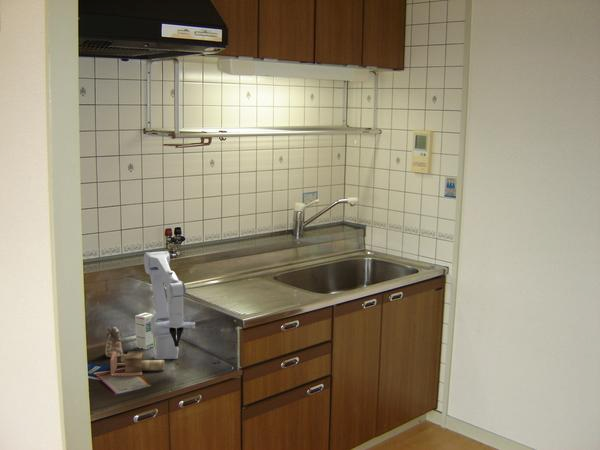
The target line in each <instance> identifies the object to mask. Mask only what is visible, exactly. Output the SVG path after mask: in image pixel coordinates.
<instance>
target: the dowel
mask: <svg viewBox="0 0 600 450" xmlns="http://www.w3.org/2000/svg"><path fill="white" fill-rule="evenodd" d="M141 362H142V372H144V371H145V372H146V371H147V372H150V371H152V372H153V371H165V369H166V368H165V364H166V363H165V359H149V360H144V359H143V360H142V361H141Z"/></svg>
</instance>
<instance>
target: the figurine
mask: <svg viewBox="0 0 600 450" xmlns="http://www.w3.org/2000/svg"><path fill="white" fill-rule="evenodd" d="M106 330H107V333H106V339H107V341H106V344H105V352H104V353H105V356H106V357H108V358H112V355H113V353H114V352H117V358H118V357H121V354H124V351H123V350H124V349H123V346H122V341H121V339H122V333H121V332H120V330H119V328H117V327H116V326H113V327H112V328H110V327H109V326H108V327H107V328H106ZM109 335H110V336H109Z"/></svg>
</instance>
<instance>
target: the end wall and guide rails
mask: <svg viewBox="0 0 600 450" xmlns="http://www.w3.org/2000/svg"><path fill="white" fill-rule="evenodd" d="M109 364H110V375H111V374H113V375H114V376H113V375H112V376H113V377H127V376H129V377H130V376H131V377H132V376H143V372H142V373H125V372H121V373H116V369H117V368H118V366H119V367H120V366H121V367H122V366H124V367H125V362H118V357H117V352H114V353H113V355H112V357H110V363H109ZM114 372H115V373H114ZM117 375H118V376H117ZM120 375H121V376H120Z"/></svg>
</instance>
